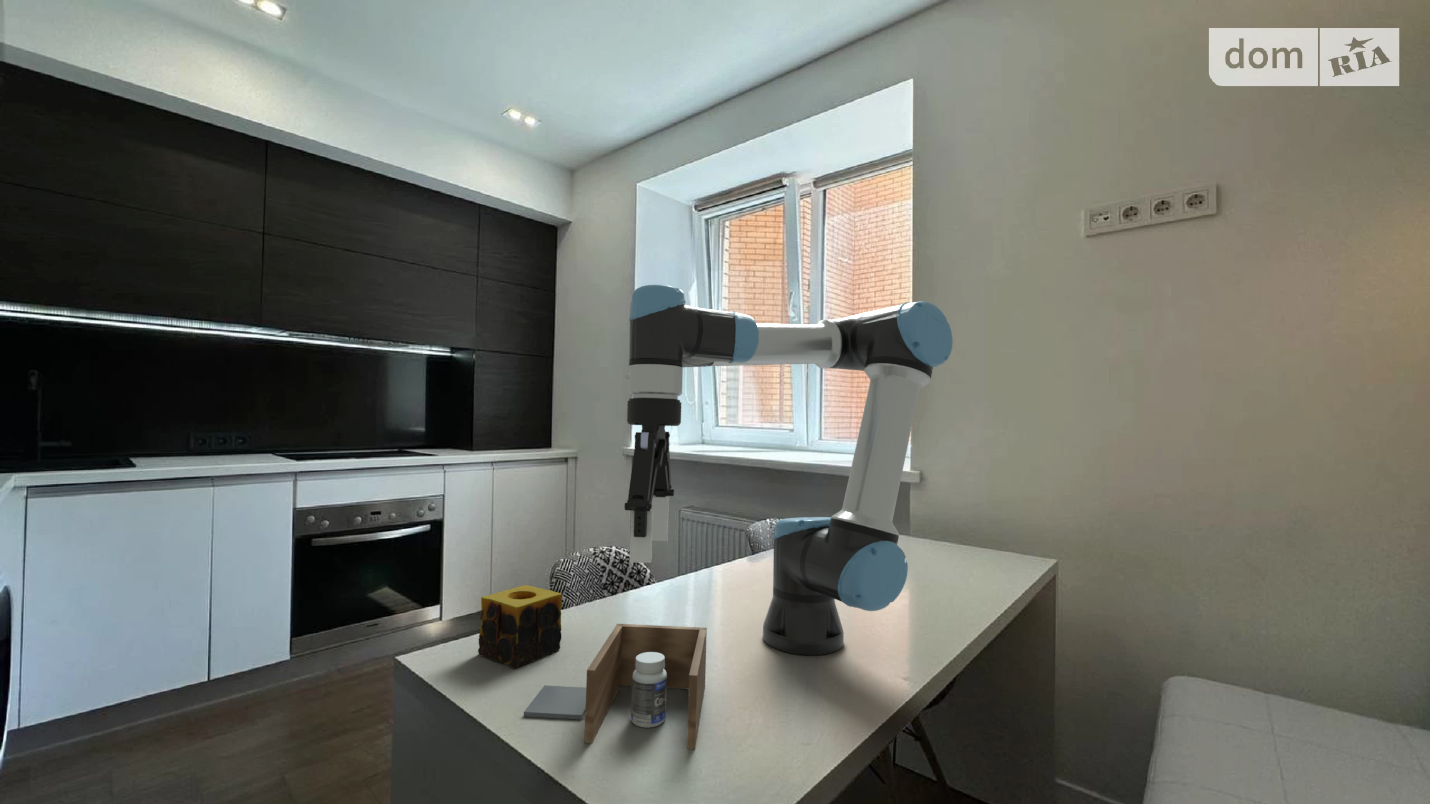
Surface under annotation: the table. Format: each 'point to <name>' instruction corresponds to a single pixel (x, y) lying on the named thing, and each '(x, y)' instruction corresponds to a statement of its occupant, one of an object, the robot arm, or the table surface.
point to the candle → (520, 625)
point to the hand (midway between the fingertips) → (650, 550)
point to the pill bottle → (649, 690)
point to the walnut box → (618, 665)
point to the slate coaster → (558, 703)
